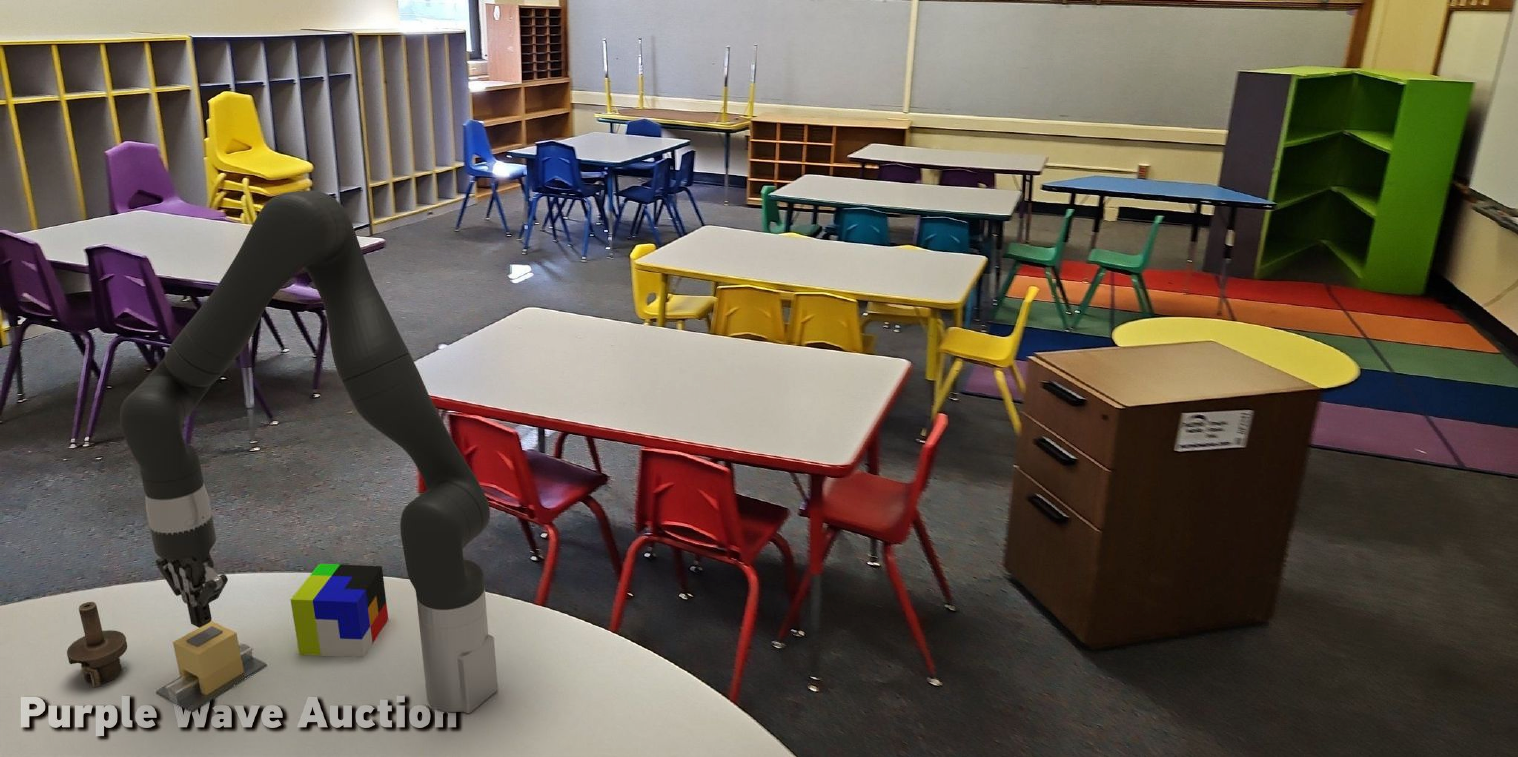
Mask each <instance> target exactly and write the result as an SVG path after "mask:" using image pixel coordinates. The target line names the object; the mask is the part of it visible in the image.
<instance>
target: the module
mask: <svg viewBox="0 0 1518 757" xmlns="http://www.w3.org/2000/svg"><path fill="white" fill-rule="evenodd" d="M238 639H239V638H238V633H237V631H234V630H232V629H230V628H228V627H225V626H223V625H221V624H219V623H217V622H215V621H213V620H211V622H209V623H208V624H206V625H204V626H202V627H200V628H199V627H197V628H195V629H194V630H192V631H191V632H188V633H187V634H185V635H184V636H181V637H179V638H178V639H176V640H175V641H173V642H172V644H173V650H174V654H175V658H176V663H177V669H178V673H179V677H180V678H182V677H183V676H185V675H187V674H189V673H192V674H194V675H196V676H198V679H199V684H200V688H201V693H203V694H205V695H207V694H209V693H211V692H212V691H214V690H215V689H217V688H219V687H220V686H222V685H224V684H225V683H227V682H229V681H230V680H232V679H233V678H235V677H237V676H238V675H240V674H242V673H243V672H244V670H243V665H242V660H241V654H240V649H239V644H240V643H239V640H238Z"/></svg>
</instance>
